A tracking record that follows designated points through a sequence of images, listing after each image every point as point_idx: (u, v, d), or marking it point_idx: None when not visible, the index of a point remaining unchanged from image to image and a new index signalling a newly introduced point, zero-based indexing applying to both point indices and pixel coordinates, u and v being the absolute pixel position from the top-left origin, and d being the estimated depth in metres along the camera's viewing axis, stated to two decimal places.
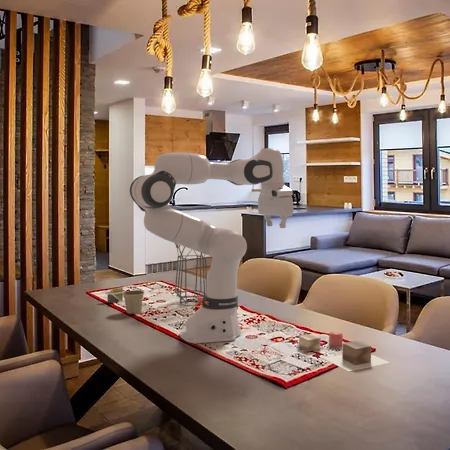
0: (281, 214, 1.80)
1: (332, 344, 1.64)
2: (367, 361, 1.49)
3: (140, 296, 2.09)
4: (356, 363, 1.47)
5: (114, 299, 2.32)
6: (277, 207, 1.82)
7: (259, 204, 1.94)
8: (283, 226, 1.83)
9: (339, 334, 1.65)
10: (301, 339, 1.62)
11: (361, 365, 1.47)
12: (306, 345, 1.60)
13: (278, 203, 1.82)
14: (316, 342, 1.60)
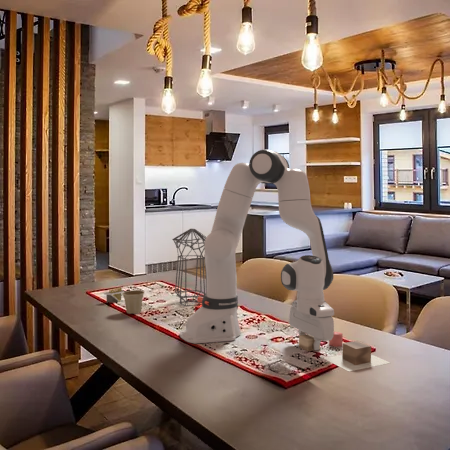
0: (319, 337, 1.55)
1: (332, 344, 1.64)
2: (367, 361, 1.49)
3: (140, 296, 2.09)
4: (356, 363, 1.47)
5: (113, 299, 2.31)
6: (314, 327, 1.56)
7: (291, 315, 1.68)
8: (316, 348, 1.59)
9: (339, 334, 1.65)
10: (301, 339, 1.62)
11: (361, 365, 1.47)
12: (306, 345, 1.60)
13: (316, 323, 1.56)
14: None
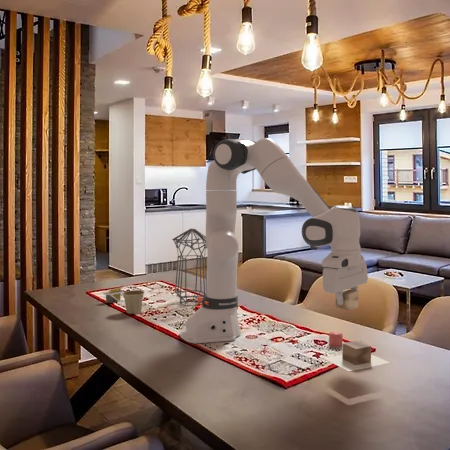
0: None
1: (332, 344, 1.64)
2: (367, 361, 1.49)
3: (140, 296, 2.09)
4: (356, 363, 1.47)
5: (112, 299, 2.31)
6: None
7: None
8: (339, 302, 1.50)
9: (339, 334, 1.65)
10: None
11: (361, 365, 1.47)
12: None
13: None
14: (344, 297, 1.50)
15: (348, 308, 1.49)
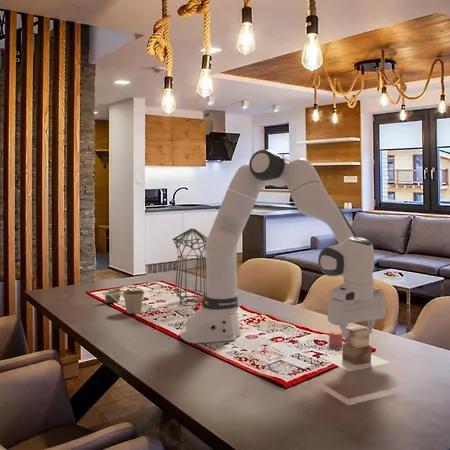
0: None
1: (332, 344, 1.64)
2: (367, 361, 1.49)
3: (140, 296, 2.09)
4: (356, 363, 1.47)
5: (111, 300, 2.30)
6: None
7: None
8: (343, 335, 1.48)
9: (339, 334, 1.65)
10: None
11: (361, 365, 1.47)
12: None
13: None
14: (352, 334, 1.48)
15: (355, 346, 1.47)
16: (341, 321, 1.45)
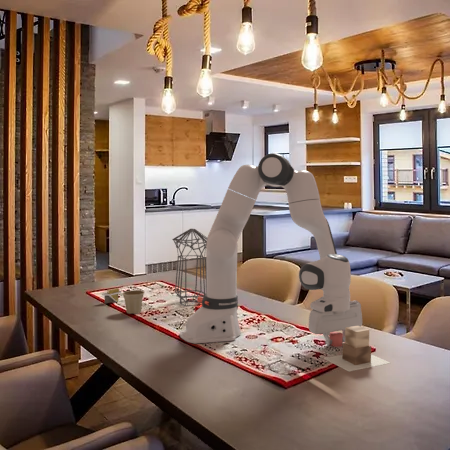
0: None
1: (332, 344, 1.64)
2: (367, 361, 1.49)
3: (140, 296, 2.09)
4: (356, 363, 1.47)
5: (110, 300, 2.30)
6: None
7: None
8: (326, 342, 1.64)
9: (339, 334, 1.65)
10: None
11: (361, 365, 1.47)
12: None
13: None
14: (352, 334, 1.48)
15: (355, 346, 1.47)
16: (320, 330, 1.60)
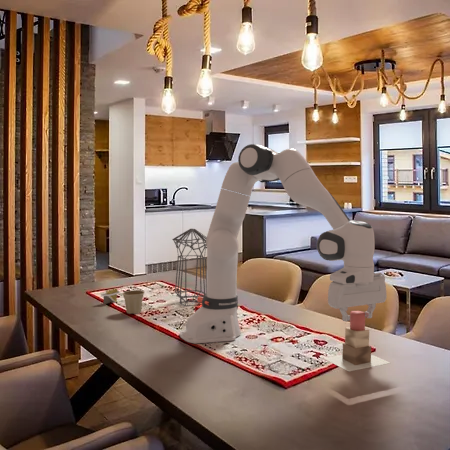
0: None
1: (354, 324, 1.48)
2: (367, 361, 1.49)
3: (140, 296, 2.09)
4: (356, 363, 1.47)
5: (109, 301, 2.29)
6: None
7: None
8: (344, 319, 1.47)
9: (361, 313, 1.49)
10: None
11: (361, 365, 1.47)
12: None
13: None
14: (352, 334, 1.48)
15: (354, 346, 1.47)
16: (341, 304, 1.44)
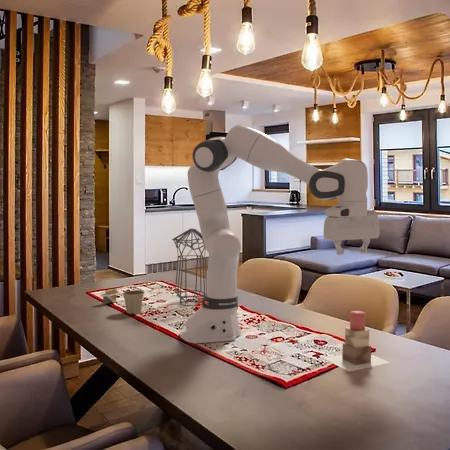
0: None
1: (354, 324, 1.48)
2: (367, 361, 1.49)
3: (140, 296, 2.09)
4: (356, 363, 1.47)
5: (108, 301, 2.28)
6: None
7: None
8: (338, 252, 1.55)
9: (361, 313, 1.49)
10: None
11: (361, 365, 1.47)
12: None
13: None
14: (352, 334, 1.48)
15: (354, 346, 1.47)
16: (336, 237, 1.52)
